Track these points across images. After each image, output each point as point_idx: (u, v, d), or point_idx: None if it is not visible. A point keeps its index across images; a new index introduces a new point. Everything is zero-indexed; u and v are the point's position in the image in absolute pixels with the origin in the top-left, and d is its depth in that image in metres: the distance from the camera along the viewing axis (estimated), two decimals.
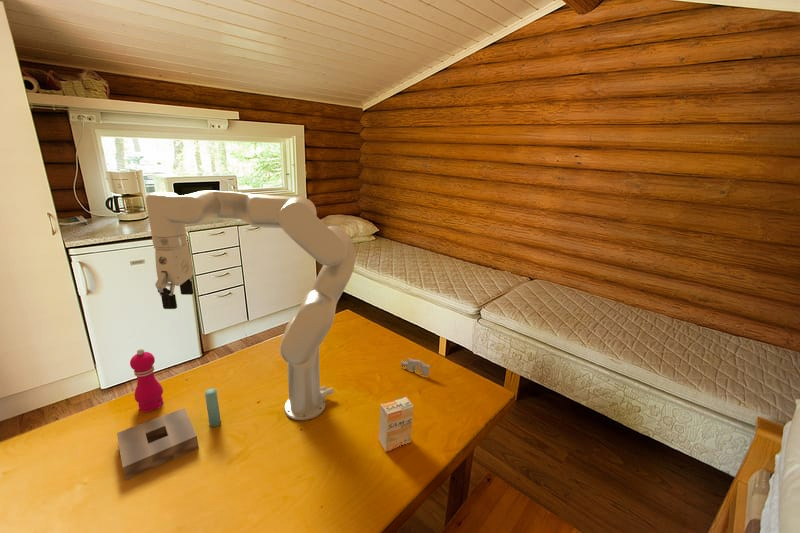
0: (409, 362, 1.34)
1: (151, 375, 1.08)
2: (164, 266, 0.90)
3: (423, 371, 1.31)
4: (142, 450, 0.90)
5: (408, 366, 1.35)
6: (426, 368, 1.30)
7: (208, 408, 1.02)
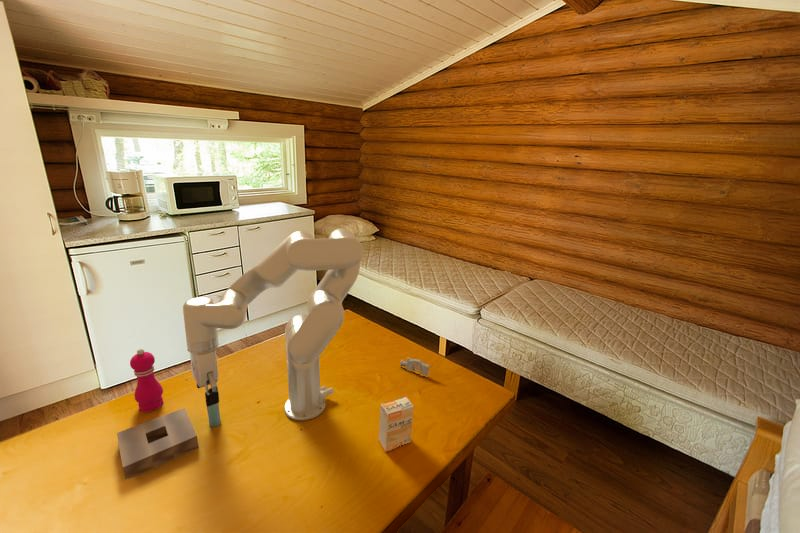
0: (408, 362, 1.34)
1: (151, 375, 1.08)
2: None
3: (422, 370, 1.32)
4: (142, 450, 0.90)
5: (407, 366, 1.35)
6: (425, 367, 1.31)
7: (208, 408, 1.02)
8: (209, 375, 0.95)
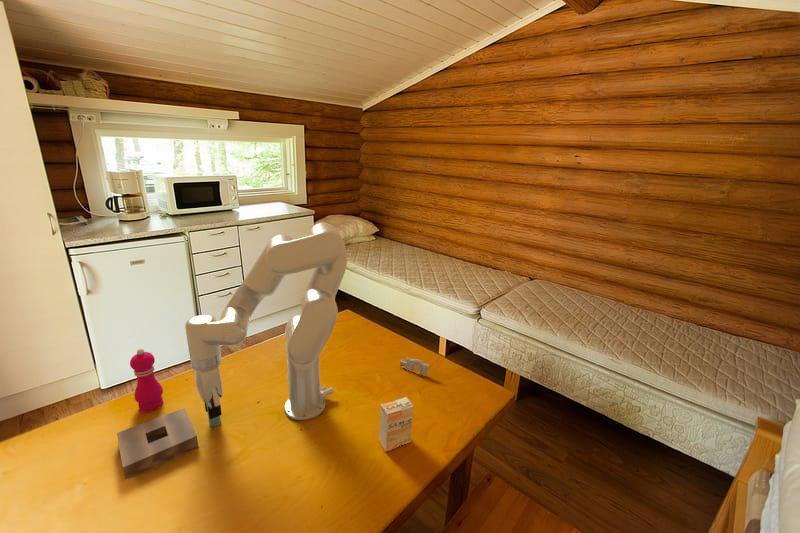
0: (408, 361, 1.34)
1: (151, 375, 1.08)
2: None
3: (422, 370, 1.32)
4: (142, 450, 0.90)
5: (407, 365, 1.35)
6: (425, 367, 1.31)
7: None
8: (213, 394, 0.98)
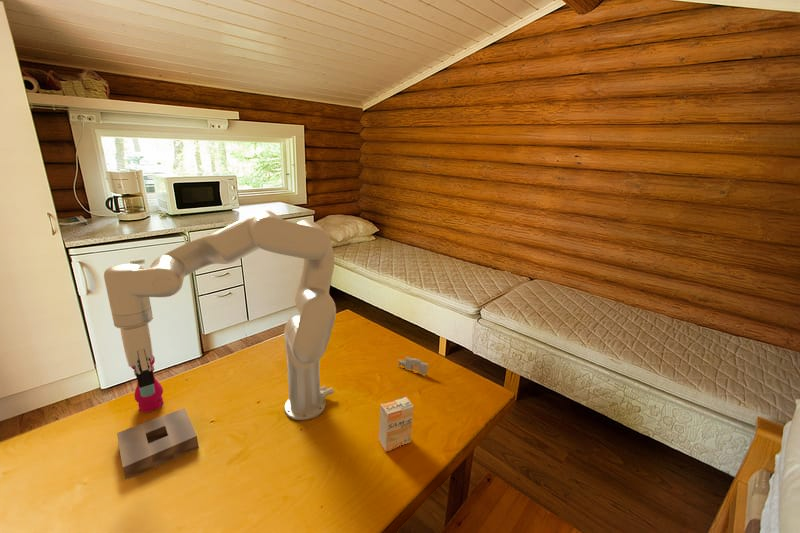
0: (407, 361, 1.35)
1: None
2: None
3: (421, 369, 1.32)
4: (142, 450, 0.90)
5: (406, 365, 1.35)
6: (424, 366, 1.31)
7: None
8: (140, 356, 0.83)
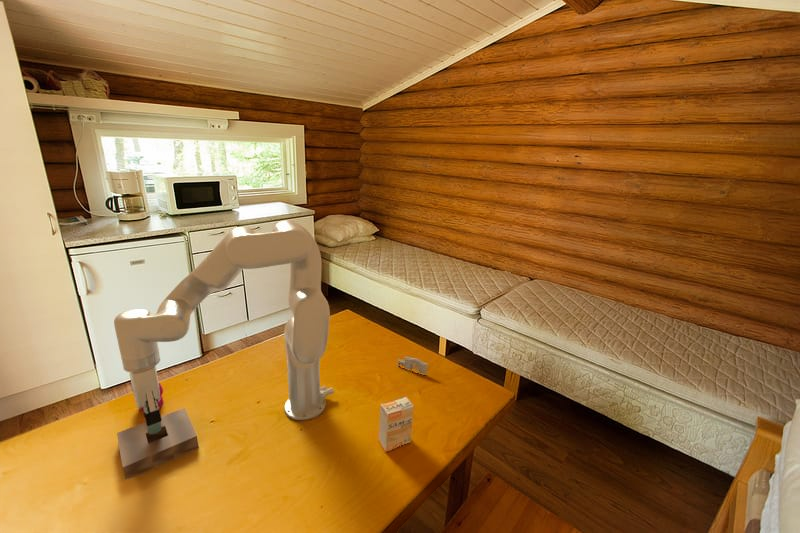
0: (406, 360, 1.35)
1: None
2: None
3: (421, 369, 1.33)
4: (142, 450, 0.90)
5: (405, 364, 1.36)
6: (424, 366, 1.32)
7: None
8: (148, 398, 0.87)
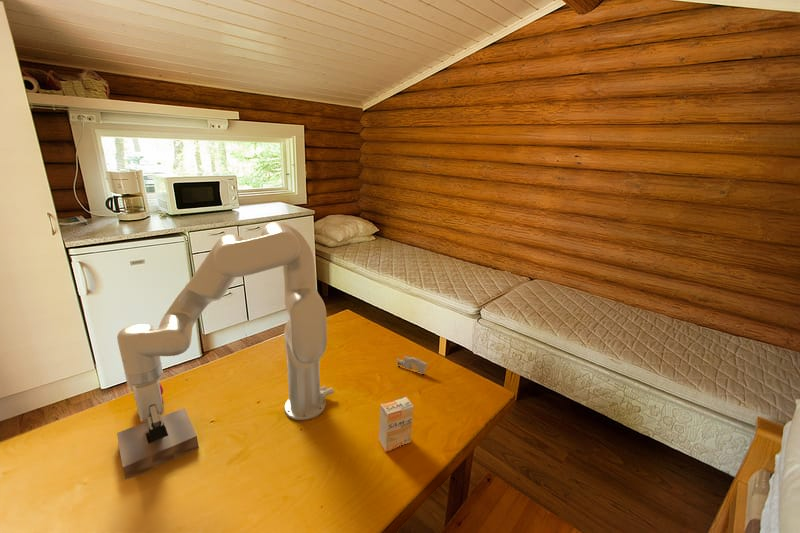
0: (405, 360, 1.35)
1: None
2: None
3: (420, 368, 1.33)
4: (142, 450, 0.90)
5: (404, 364, 1.36)
6: (423, 365, 1.32)
7: None
8: (151, 409, 0.88)
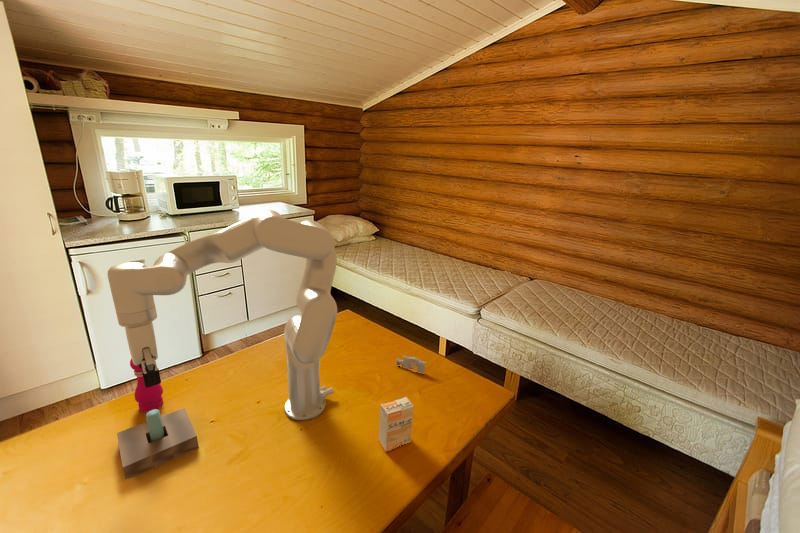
0: (404, 359, 1.35)
1: None
2: None
3: (419, 368, 1.33)
4: (142, 450, 0.90)
5: (403, 363, 1.36)
6: (422, 364, 1.32)
7: (150, 431, 0.93)
8: (144, 351, 0.83)
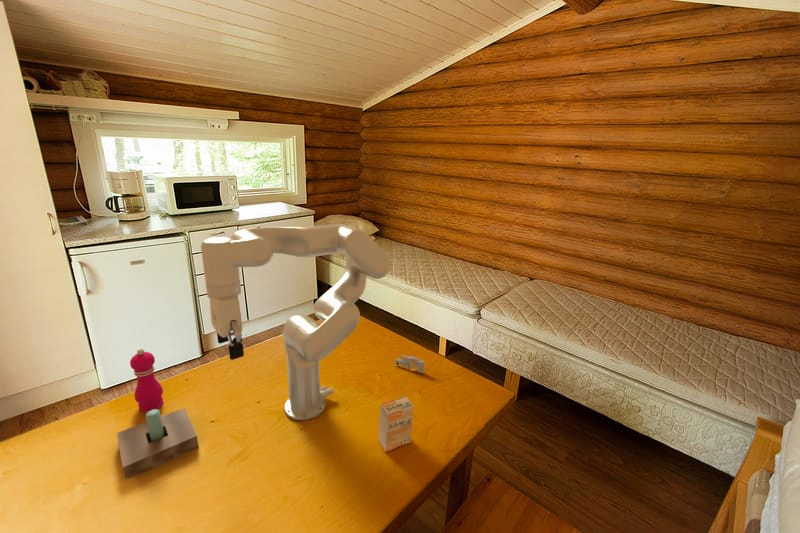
0: (404, 359, 1.36)
1: (151, 375, 1.08)
2: None
3: (418, 367, 1.34)
4: (142, 450, 0.90)
5: (403, 363, 1.36)
6: (421, 364, 1.33)
7: (150, 431, 0.93)
8: (232, 323, 0.85)
